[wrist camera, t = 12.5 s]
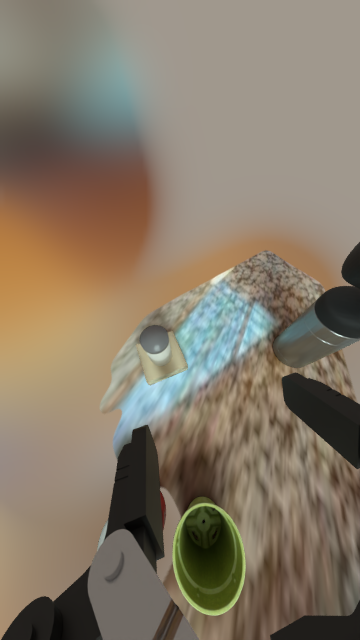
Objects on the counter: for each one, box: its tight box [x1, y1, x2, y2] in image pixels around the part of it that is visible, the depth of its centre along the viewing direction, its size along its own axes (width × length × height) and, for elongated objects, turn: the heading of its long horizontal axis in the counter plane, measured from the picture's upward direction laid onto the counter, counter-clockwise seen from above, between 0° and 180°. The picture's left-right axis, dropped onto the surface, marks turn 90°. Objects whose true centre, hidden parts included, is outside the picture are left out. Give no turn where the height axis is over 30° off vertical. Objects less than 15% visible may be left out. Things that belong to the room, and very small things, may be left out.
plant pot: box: [172, 497, 245, 615], centre depth 26 cm, size 9×9×9 cm
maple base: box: [136, 331, 188, 385], centre depth 43 cm, size 10×10×4 cm
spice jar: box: [140, 325, 172, 366], centre depth 37 cm, size 6×6×10 cm
